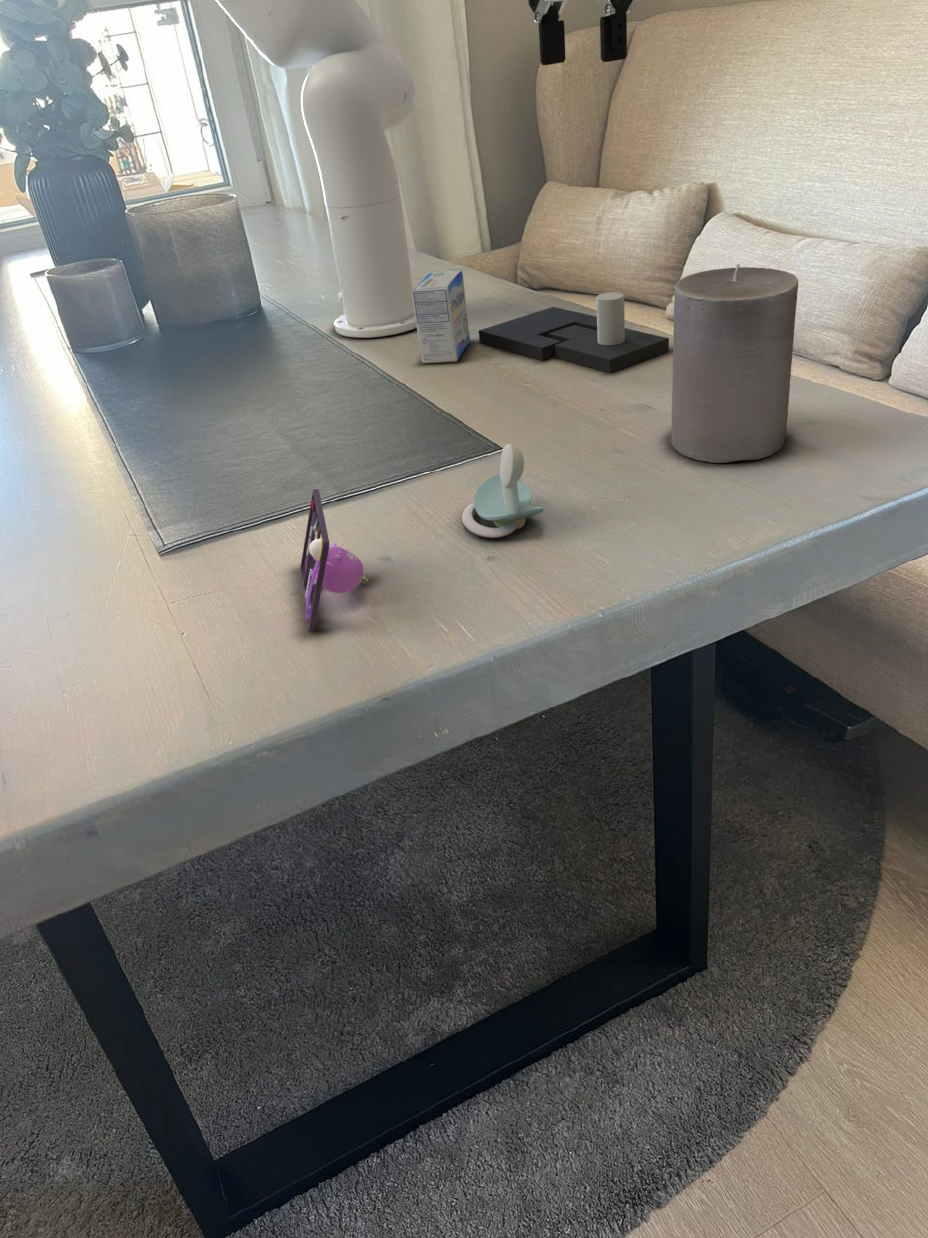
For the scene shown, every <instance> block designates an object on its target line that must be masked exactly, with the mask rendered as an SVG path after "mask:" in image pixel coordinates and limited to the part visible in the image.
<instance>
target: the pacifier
mask: <svg viewBox="0 0 928 1238" xmlns="http://www.w3.org/2000/svg"><path fill="white" fill-rule="evenodd" d="M524 469H525V458H524V455H523V453H522V451H521V449H520V448H519V447H518V446H516V445H515V444H512V443H507V444H505V445H504V447H503V448H502V452H501V456H500V463H499V474H498V475H497V474H496V475H493V476H491V477H489V478H487V479H486V480H485V481H483V482H482V483H481V484H480V485H479V486H478V488H477V489H476V492H475V494H474V499H473V502H472V503H471V504H469V505H467V506H466V507H465V508H464V510H463V512H462V515H461V517H462V518H461V520H462V523H463V526H464V527H465V528H466V529H467V530H468V531H469V532H471V533H472V534H474V535H476V536H478V537H482V538H485V539H486V538H487V539H498V538H503V537H506V536H509V535H511V534H512V533H514V531H515V530H518V529H521V528H522V527H524V526H525V524H526V519H527V518H530V517H533V516H536V515H539V514H541V513H543V512H544V507H543V506H540V505H531V498H532V496H531V495H532V494H531V491H530V489H529V487H528V486H527V484H526V483H525V482H524V481H522V480H521V477H522V475H523V473H524ZM476 514H477V515H478V516H479V517H480V518H481V519H483V520H487V521H492V522H493V524H494V525H495V526H496V527H488V526H485V525H482V524H480V523H478V522H477V521H476V520H475V519H474V517H475V515H476Z"/></svg>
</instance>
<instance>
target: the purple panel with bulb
mask: <svg viewBox="0 0 928 1238" xmlns="http://www.w3.org/2000/svg"><path fill="white" fill-rule="evenodd" d="M306 524H307V525H306V530H305V535H304V536H305V537H304V541H303V548H302V549H303V550H302V555H301V561H300V567H299V569H300V570H299V572H300V580H301V587H302V594H303V602H304V608H305V609H304V610H305V616H306V617H305V621H306V624H307V631H312V632H314V631H315V629H316V622H317V618H318V617H317V616H318V611H319V607H320V606H319V605H320V600H321V595H322V589H324V590H326V591H328V592H331V593H333V594H344V593H348V592H350V591H351V592H352V590H354V589H355V588H357V586H359V584H361V583H363V584H366V582H368V581H369V579H368V578H367V576H365V575H364V566H363V563H362V561H361V559H360V558H359V557H358V556H356V555H355V554H354V553H352V552H351V551H349V550H347V549H345V548H344V547H342V546H338V544H336V542H333V543H332V544H331V545H330V539H329V533H328V529H327V524H326V519H325V513H324V509H323V504H322V497H321V493H320V489H319V488H313V489H312V493H311V500H310V506H309V513H308V518H307V523H306ZM314 585H315V587H314ZM313 587H314V594H313V600H311V594H312V591H313Z"/></svg>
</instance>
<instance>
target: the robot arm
mask: <svg viewBox="0 0 928 1238" xmlns="http://www.w3.org/2000/svg"><path fill="white" fill-rule="evenodd" d="M215 1H216V2H217V3H218V5H219V6H220V7H221V8H222V9H223V11H224V12H225V13H226V14H227V16H228V17H229V18H230V19H231V21H232V22H233V23H234V24H235V25H236V26H237V27H238V28H239V30H240V31H241V32H242V34H244V36H245V37H246V38H247V40H249V42H250V43H251V44H252V46H253V47H254V48H255V49H256V50H257V51H258V53H259V54H260V55H261V56H262V57H263V58H264V59H265V60H266V61H267V62H268V63H270V64H271V65H273V66H275V67H277V68H280V69H302V68H307V67H311V66H312V67H311V69H309V71H308V72H307V75H306V77H305V78H304V81H303V84H302V89H301V94H300V95H301V96H300V104H301V113H302V118H303V121H304V126H305V129H306V132H307V135H308V137H309V141H310V144H311V147H312V149H313V153H314V157H315V160H316V164H317V168H318V173H319V177H320V182H321V188H322V193H323V199H324V204H325V209H326V215H327V220H328V225H329V233H330V237H331V244H332V250H333V256H334V261H335V266H336V267H335V268H336V273H337V278H338V283H339V290H340V291H339V292H338V293H337V295H336V300H337V302H338V303H341V304H342V306H343V307H342V308H343V312H344V314H342V315H340V316H338V318H337V319H335V321H334V329H335V331H336V334H337V333H338V334H339V335H341V336H343V337H347V338H356V339H357V338H358V339H366V338H367V339H368V338H369V339H370V338H382V337H388V336H394V335H398V334H402V333H406V332H409V331H412V330H415V329H417V325H416V319H415V312H414V305H413V297H412V291H413V290H414V289H413V280H412V279H413V278H412V273H411V266H410V265H411V264H410V257H409V250H408V243H407V242H408V241H407V234H406V233H407V232H406V226H405V218H404V212H403V205H402V198H401V197H402V196H401V190H400V182H399V177H398V172H397V166H396V164H395V159H394V157H393V153H392V150H391V147H390V144H389V142H388V138H387V135H386V134H388V133H391V132H394V131H395V130H397V129H398V128H400V127H401V126H403V124H405V123H406V121H407V120H408V118H409V117H410V115H411V113H412V111H413V108H414V104H415V84H414V80H413V77H412V74H411V72H410V69H409V68H408V66H407V64H406V62H405V61H404V60H403V58H402V57H401V55H400V54H399V53H398V52H397V50H396V49H395V48H394V46H393V45H392V44H391V42H390V41H389V40H388V39H387V38H386V37H385V35H384V34H383V32H381V31H380V29H379V28H378V26H377V25H376V24H375V23H374V22H373V21H372V19H371V18H370V16H369V15H368V14H367V13H366V12H365V11H364V9H363V8H362V7H361V6H360V4H359V3H358V1H356V0H215ZM633 1H634V0H597V2H598V4H599V5H600V7H601V10H602V11H603V13H604V15H605V16H600V18H599V42H600V44H599V45H600V46H599V47H600V61H601V62H602V63H608V62H615V61H621V60H625V59H626V58H627V56H628V23H627V22H628V21H627V19H628V14H630V13H631V11H632V7H633V4H632V3H633ZM566 3H567V0H528V6H529V7H530V9H531V11H532V12H533V20H534V22H535V24H538V40H539V57H540V65H542V66H550V65H556V64H562V63H565V61H566V58H567V57H566V36H565V35H566V32H565V20H564V19H562V20H561V19H560V18H561V15H562V13H563V11H564V8H565V6H566Z"/></svg>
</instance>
